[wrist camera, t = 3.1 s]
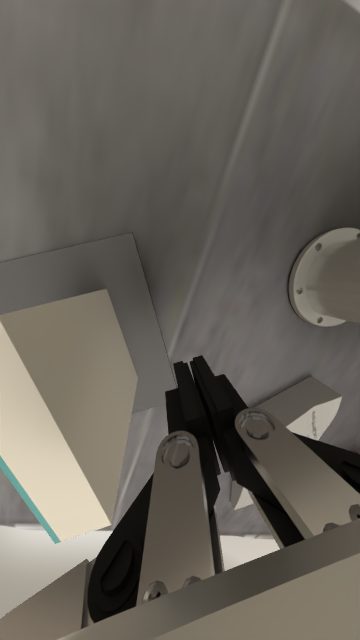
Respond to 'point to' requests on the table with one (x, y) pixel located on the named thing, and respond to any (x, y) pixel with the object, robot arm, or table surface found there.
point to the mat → (89, 276)
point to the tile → (65, 410)
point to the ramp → (297, 418)
